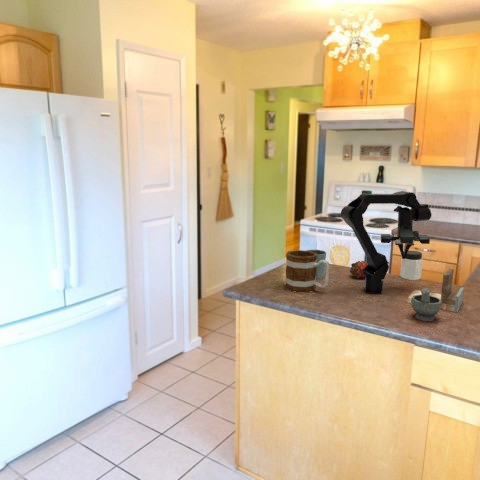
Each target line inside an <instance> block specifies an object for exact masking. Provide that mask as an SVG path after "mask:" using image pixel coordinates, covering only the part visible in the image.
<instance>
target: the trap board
mask: <svg viewBox="0 0 480 480" xmlns="http://www.w3.org/2000/svg"><path fill="white" fill-rule="evenodd" d="M414 295H422V293H421V290H418V289H414V291H412V293H411V294H410V295H409V296H408V297H407V303H408V304H411V299H412V297H413V296H414ZM429 295H430V296H434V297H437V298H439V299H441V293H437V292H431V291H430V294H429ZM454 308H455V305H449V304H444V303H442V304H441V307H440V310H443V311H449V312H454Z"/></svg>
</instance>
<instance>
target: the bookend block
mask: <svg viewBox="0 0 480 480" xmlns="http://www.w3.org/2000/svg"><path fill="white" fill-rule="evenodd" d="M454 272H455V269H453V268H447V270H445V272H444V273H443V276H442V282H441V283H442V286H441V293H440V294H441V300H442V303H444V304H449V305H455V299H456V295H457V293H458V292H454V291H452V289H453V280H454Z"/></svg>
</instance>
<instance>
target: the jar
mask: <svg viewBox="0 0 480 480" xmlns="http://www.w3.org/2000/svg"><path fill="white" fill-rule="evenodd" d="M403 252H404V250H403ZM400 261H401V263H400V271H399V272H400V274H399V277H401V278H403V280H409V281H418V280H420V279H421V278H422V269H423V268H422V267H423V252H421V251H417V250H408V252H407V255H406V257H405V259H402V258H401V260H400Z"/></svg>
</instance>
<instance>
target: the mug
mask: <svg viewBox="0 0 480 480" xmlns="http://www.w3.org/2000/svg"><path fill="white" fill-rule="evenodd" d="M317 254H318V253H315V252H311V251H306V250H302V249H297V250H288V251H287V252H286V254H285V256H286V266H285V267H286V268H285V285H284V287H285V288H287V289H289V290H291V291H290V292H292V291H296V292H295V293H299V292H307V293H311V292H310V291H313V292H315V291H316V289H317V287H318V288H320V289H321V288H325V287H327V286H328V284H329V278H330V277H329V276H330V263H329V261H328V260H326V259H325V260H320V261H319V262H318V263H316V262H317ZM322 262H324V263H325V269H326V270H325V272H324V283H323V284H321V283H319V282H317V280H316V272H317V266H318V265H320V264H321V263H322ZM285 288H284V289H285ZM287 289H286V290H287ZM289 290H288V291H289Z"/></svg>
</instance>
